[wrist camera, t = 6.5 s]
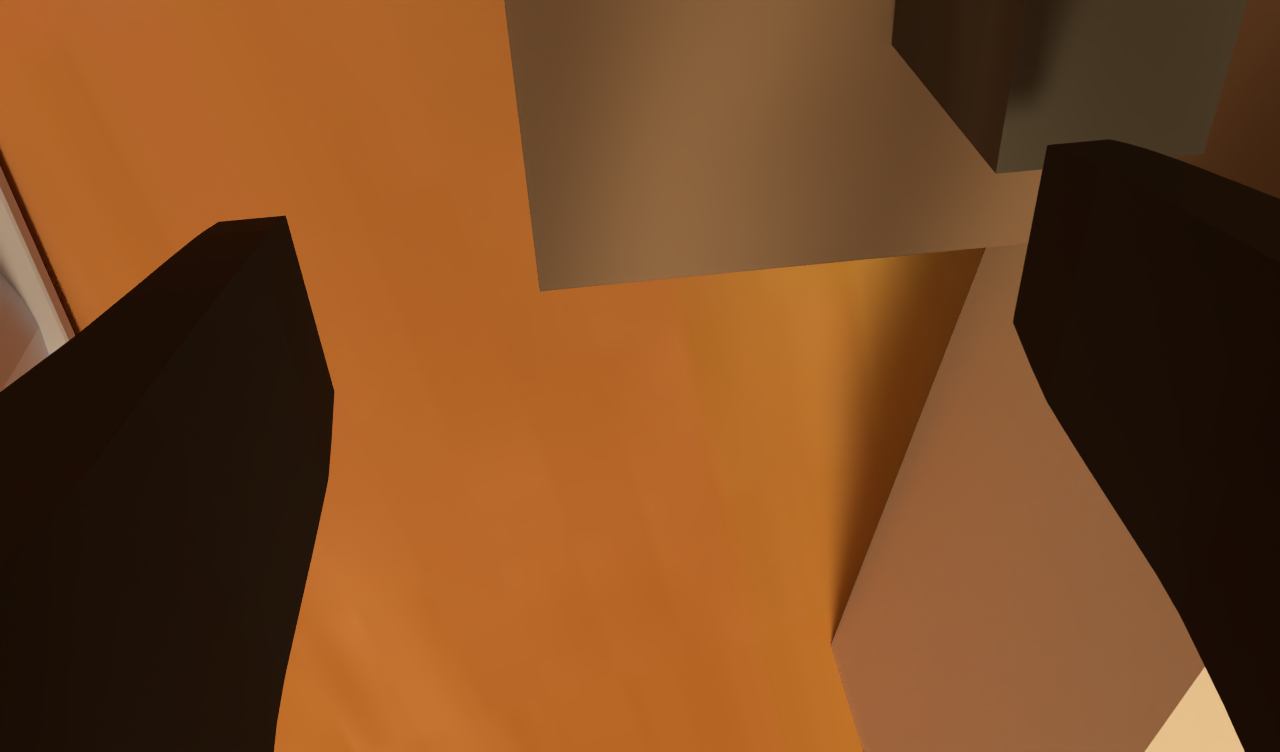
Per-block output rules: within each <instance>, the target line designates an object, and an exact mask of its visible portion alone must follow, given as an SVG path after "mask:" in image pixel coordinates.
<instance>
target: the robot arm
mask: <svg viewBox="0 0 1280 752" xmlns="http://www.w3.org/2000/svg"><path fill="white" fill-rule="evenodd" d="M1013 324H1014V327H1015V329H1016V331H1017V334H1018V336H1019V339H1020V341H1021V344H1022V346H1023V349H1024V351H1025V354H1026V356H1027V359H1028V361H1029V364H1030V366H1031V368H1032V371H1033V373H1034V375H1035V377H1036V379H1037V381H1038V384H1039V386H1040V388H1041V390H1042V392H1043V395H1044V397H1045V399H1046V401H1047V403H1048V405H1049V406H1050V408H1051V410H1052V411H1053V413H1054V415H1055V416H1056V418H1057V420H1058V421H1059V423H1060V425H1061V426H1062V428H1063V429H1064V431H1065V433H1066V434H1067V436H1068V437H1069V439H1070V441H1071V442H1072V444H1073V445H1074V447H1075V449H1076V450H1077V452H1078V453H1079V455H1080V457H1081V458H1082V460H1083V461H1084V463H1085V465H1086V466H1087V468H1088V469H1089V471H1090V472H1091V474H1092V475H1093V477H1094V479H1095V480H1096V482H1097V483H1098V485H1099V486H1100V488H1101V489H1102V491H1103V493H1104V494H1105V496H1106V497H1107V499H1108V500H1109V502H1110V503H1111V505H1112V507H1113V508H1114V510H1115V511H1116V513H1117V514H1118V516H1119V517H1120V519H1121V521H1122V522H1123V524H1124V525H1125V527H1126V528H1127V530H1128V531H1129V533H1130V535H1131V536H1132V538H1133V539H1134V541H1135V542H1136V544H1137V545H1138V547H1139V549H1140V550H1141V552H1142V553H1143V555H1144V556H1145V558H1146V560H1147V561H1148V563H1149V564H1150V566H1151V567H1152V569H1153V570H1154V572H1155V574H1156V575H1157V577H1158V579H1159V580H1160V582H1161V584H1162V585H1163V587H1164V589H1165V591H1166V592H1167V594H1168V596H1169V598H1170V599H1171V601H1172V603H1173V605H1174V606H1175V608H1176V610H1177V611H1178V613H1179V615H1180V617H1181V619H1182V621H1183V623H1184V625H1185V627H1186V629H1187V631H1188V633H1189V635H1190V637H1191V639H1192V641H1193V643H1194V645H1195V647H1196V649H1197V652H1198V654H1199V656H1200V658H1201V660H1202V662H1203V664H1204V666H1205V668H1206V670H1207V672H1208V674H1209V676H1210V678H1211V680H1212V682H1213V684H1214V686H1215V688H1216V690H1217V692H1218V695H1219V697H1220V699H1221V701H1222V703H1223V705H1224V707H1225V709H1226V711H1227V714H1228V716H1229V718H1230V720H1231V723H1232V725H1233V727H1234V729H1235V732H1236V734H1237V736H1238V738H1239V740H1240V743H1241V745H1242V747H1243V749H1244V752H1280V199H1279V198H1277V197H1274V196H1271V195H1269V194H1266V193H1264V192H1261V191H1259V190H1256V189H1253V188H1251V187H1248V186H1246V185H1243V184H1241V183H1238V182H1236V181H1233V180H1230V179H1228V178H1225V177H1223V176H1220V175H1217V174H1215V173H1212V172H1210V171H1207V170H1205V169H1202V168H1199V167H1197V166H1194V165H1191V164H1189V163H1186V162H1183V161H1181V160H1178V159H1175V158H1172V157H1169V156H1166V155H1164V154H1161V153H1158V152H1155V151H1152V150H1149V149H1146V148H1142V147H1139V146H1135V145H1132V144H1128V143H1124V142H1120V141H1115V140H1111V139H1106V140H1095V141H1085V142H1074V143H1063V144H1052V145H1047V149H1046V154H1045V159H1044V164H1043V169H1042V174H1041V179H1040V185H1039V190H1038V195H1037V200H1036V205H1035V210H1034V215H1033V220H1032V226H1031V231H1030V236H1029V241H1028V246H1027V251H1026V256H1025V261H1024V267H1023V272H1022V277H1021V282H1020V287H1019V292H1018V297H1017V302H1016V308H1015V313H1014V318H1013ZM333 404H334V389H333V385H332V382H331V378H330V374H329V371H328V367H327V363H326V360H325V356H324V353H323V349H322V345H321V342H320V338H319V335H318V331H317V327H316V324H315V320H314V316H313V313H312V309H311V306H310V302H309V298H308V295H307V291H306V288H305V284H304V280H303V277H302V273H301V270H300V266H299V262H298V259H297V255H296V251H295V248H294V244H293V241H292V237H291V233H290V230H289V226H288V223H287V219H286V216H277V217H267V218H256V219H245V220H234V221H224V222H218V223H216V224H215V225H213V226H212V227H210V228H208V229H207V230H205V231H204V232H203V233H201V234H200V235H198V236H197V237H196V238H194V239H193V240H192V241H191V242H189V243H188V244H187V245H186V246H184V247H183V248H182V249H181V250H179V251H178V252H177V253H176V254H174V255H173V256H172V257H171V258H170V259H168V260H167V261H166V262H165V263H163V264H162V265H161V266H160V267H159V268H157V269H156V270H155V271H154V272H153V273H151V274H150V275H149V276H148V277H147V278H145V279H144V280H143V281H142V282H141V283H139V284H138V285H137V286H136V287H135V288H133V289H132V290H131V291H130V292H129V293H127V294H126V295H125V296H124V297H122V298H121V299H120V300H119V301H118V302H116V303H115V304H114V305H113V306H111V307H110V308H109V309H108V310H107V311H105V312H104V313H103V314H102V315H101V316H99V317H98V318H97V319H96V320H94V321H93V322H92V323H91V324H90V325H88V326H87V327H86V328H85V329H83V330H82V331H81V332H80V333H78V334H77V335H76V336H75V334H74V331H73V329H72V327H71V325H70V322H69V320H68V318H67V316H66V313H65V311H64V309H63V307H62V304H61V302H60V300H59V298H58V295H57V293H56V291H55V289H54V286H53V284H52V282H51V280H50V277H49V275H48V273H47V271H46V268H45V266H44V264H43V261H42V259H41V257H40V255H39V252H38V250H37V248H36V246H35V243H34V241H33V239H32V237H31V234H30V232H29V230H28V228H27V225H26V223H25V221H24V219H23V216H22V214H21V212H20V210H19V207H18V205H17V203H16V200H15V198H14V196H13V194H12V191H11V189H10V187H9V185H8V182H7V180H6V178H5V176H4V173H3V171H2V169H1V167H0V752H274V744H275V735H276V726H277V719H278V713H279V707H280V702H281V696H282V690H283V684H284V679H285V674H286V669H287V665H288V660H289V656H290V651H291V647H292V643H293V638H294V634H295V629H296V625H297V620H298V616H299V611H300V607H301V602H302V598H303V593H304V589H305V584H306V580H307V576H308V571H309V567H310V562H311V558H312V553H313V549H314V544H315V539H316V535H317V530H318V526H319V521H320V516H321V512H322V507H323V502H324V497H325V493H326V488H327V483H328V476H329V464H330V452H331V440H332V422H333Z"/></svg>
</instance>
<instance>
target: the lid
mask: <svg viewBox="0 0 1280 752" xmlns="http://www.w3.org/2000/svg"><path fill="white" fill-rule="evenodd" d="M504 1H505V9H506V18H507V26H508V34H509V42H510V50H511V59H512V67H513V75H514V83H515V91H516V99H517V108H518V116H519V124H520V132H521V140H522V149H523V157H524V165H525V173H526V181H527V190H528V198H529V206H530V214H531V222H532V230H533V239H534V247H535V255H536V263H537V271H538V280H539V288H540V291H548V290H558V289H568V288H578V287H588V286H598V285H609V284H619V283H629V282H639V281H649V280H660V279H670V278H680V277H690V276H700V275H710V274H721V273H731V272H741V271H751V270H761V269H772V268H782V267H792V266H802V265H812V264H823V263H833V262H843V261H853V260H863V259H873V258H884V257H894V256H904V255H914V254H924V253H935V252H945V251H955V250H965V249H975V248H985V247H996V246H1006V245H1016V244H1026V243H1028V241H1029V236H1030V231H1031V226H1032V220H1033V215H1034V210H1035V205H1036V200H1037V195H1038V190H1039V185H1040V179H1041V174H1042V169H1043V164H1044V159H1045V154H1046V149H1047V145H1052V144H1063V143H1074V142H1085V141H1095V140H1106V139H1111V140H1115V141H1120V142H1124V143H1128V144H1132V145H1135V146H1139V147H1142V148H1146V149H1149V150H1152V151H1155V152H1158V153H1161V154H1164V155H1166V156H1169V157H1172V158H1175V159H1178V160H1181V161H1183V162H1186V163H1189V164H1191V165H1194V166H1197V167H1199V168H1202V169H1205V170H1207V171H1210V172H1212V173H1215V174H1217V175H1220V176H1223V177H1225V178H1228V179H1230V180H1233V181H1236V182H1238V183H1241V184H1243V185H1246V186H1248V187H1251V188H1253V189H1256V190H1259V191H1261V192H1264V193H1266V194H1269V195H1271V196H1274V197H1277V198H1279V199H1280V0H504Z"/></svg>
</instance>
